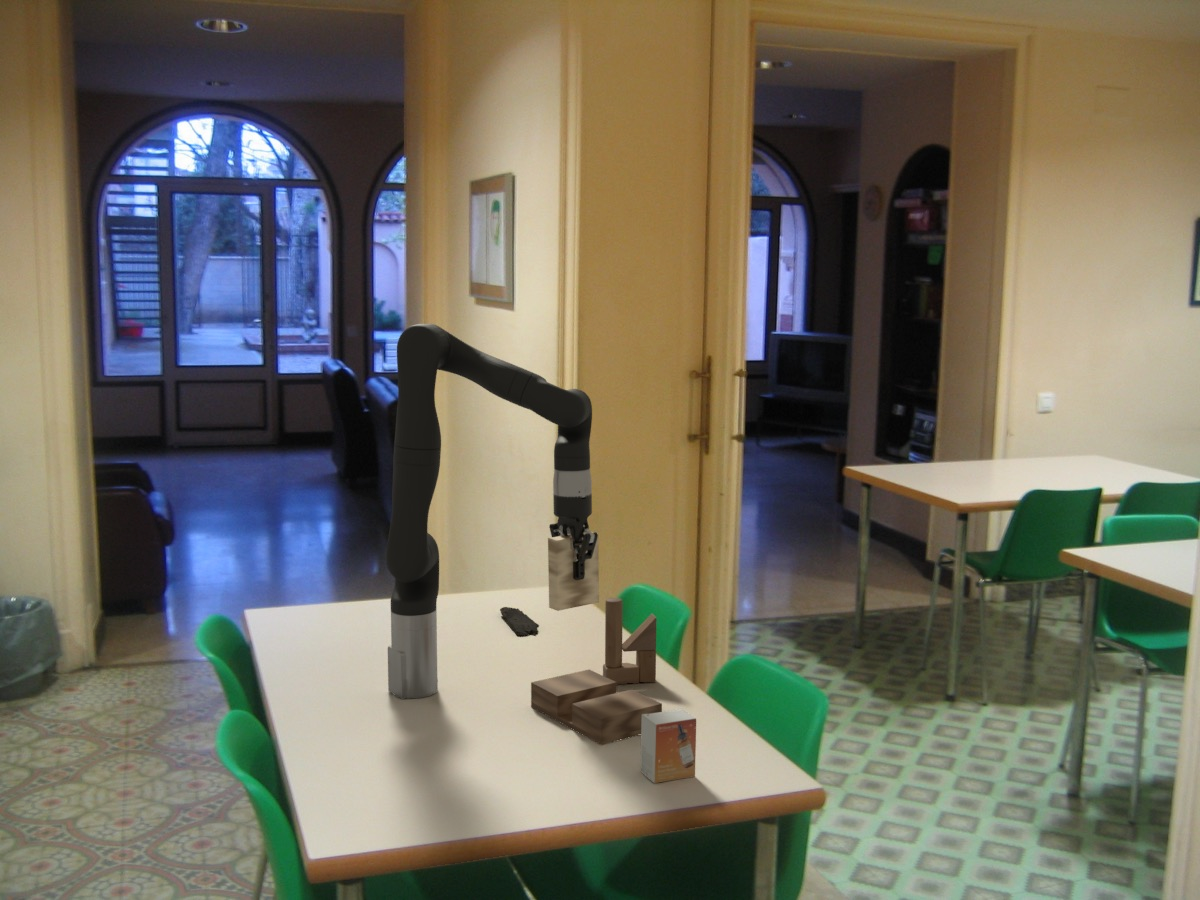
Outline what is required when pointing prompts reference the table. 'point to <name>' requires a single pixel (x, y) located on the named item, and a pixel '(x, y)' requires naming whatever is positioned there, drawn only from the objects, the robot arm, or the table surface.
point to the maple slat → (570, 576)
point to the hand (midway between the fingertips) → (573, 577)
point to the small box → (668, 745)
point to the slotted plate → (592, 705)
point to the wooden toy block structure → (628, 647)
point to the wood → (519, 622)
